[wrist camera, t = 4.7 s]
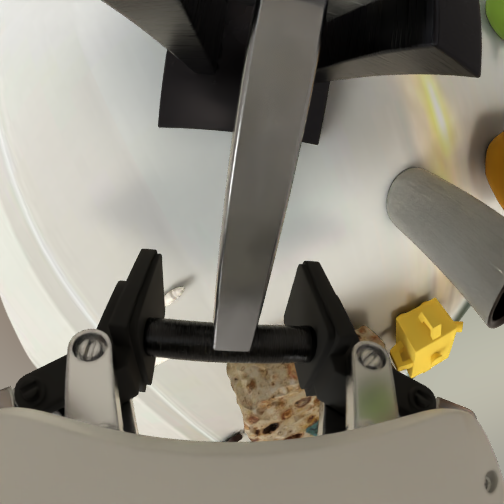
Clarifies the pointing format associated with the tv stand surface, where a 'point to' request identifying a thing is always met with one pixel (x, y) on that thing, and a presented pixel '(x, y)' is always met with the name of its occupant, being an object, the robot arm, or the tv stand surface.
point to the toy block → (423, 338)
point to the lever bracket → (330, 58)
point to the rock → (278, 398)
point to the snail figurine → (496, 15)
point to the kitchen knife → (235, 438)
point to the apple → (496, 167)
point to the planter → (454, 237)
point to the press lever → (258, 190)
